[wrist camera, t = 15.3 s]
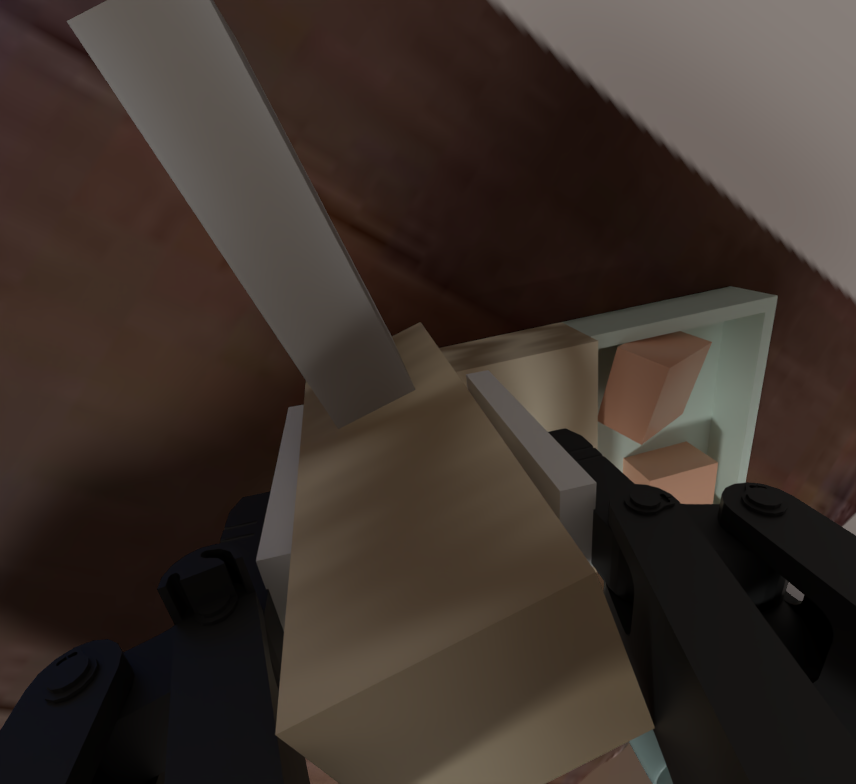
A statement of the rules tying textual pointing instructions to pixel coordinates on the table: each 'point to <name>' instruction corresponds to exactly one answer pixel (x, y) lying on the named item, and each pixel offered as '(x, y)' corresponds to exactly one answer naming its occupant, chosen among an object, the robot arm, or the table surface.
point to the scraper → (378, 470)
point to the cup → (651, 758)
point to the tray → (717, 381)
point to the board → (540, 373)
